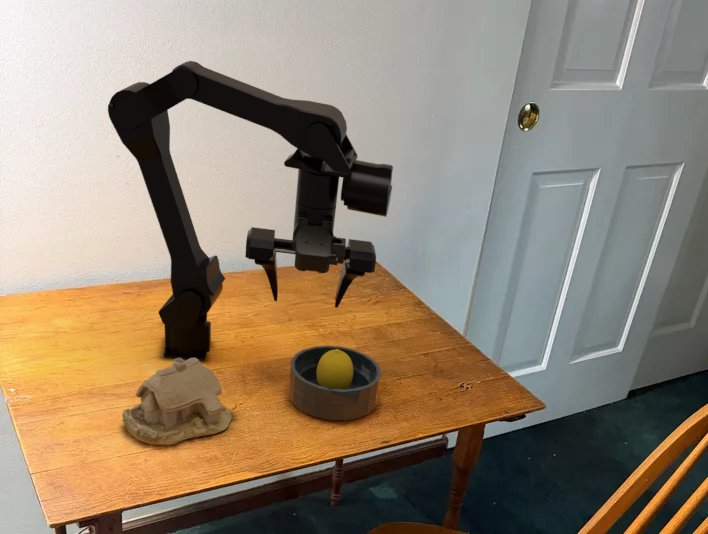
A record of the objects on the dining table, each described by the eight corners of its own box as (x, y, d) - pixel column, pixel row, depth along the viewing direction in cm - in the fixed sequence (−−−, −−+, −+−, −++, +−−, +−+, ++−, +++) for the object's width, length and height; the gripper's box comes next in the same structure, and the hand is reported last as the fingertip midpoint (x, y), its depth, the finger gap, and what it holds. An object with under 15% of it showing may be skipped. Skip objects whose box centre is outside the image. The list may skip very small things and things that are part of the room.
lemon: (345, 408, 119) (350, 362, 114) (309, 400, 119) (314, 353, 115) (354, 391, 123) (360, 345, 119) (320, 383, 124) (324, 337, 119)
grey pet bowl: (288, 420, 115) (291, 388, 112) (288, 373, 126) (290, 342, 122) (380, 425, 117) (385, 394, 114) (372, 378, 128) (376, 349, 125)
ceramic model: (194, 390, 117) (193, 330, 112) (244, 423, 112) (246, 362, 107) (111, 422, 108) (106, 358, 102) (162, 460, 103) (159, 395, 97)
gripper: (245, 213, 103) (240, 320, 112) (385, 231, 107) (369, 334, 116) (250, 186, 112) (245, 288, 121) (379, 203, 115) (365, 301, 124)
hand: (306, 303), depth 120 cm, fingers open, 9 cm apart
